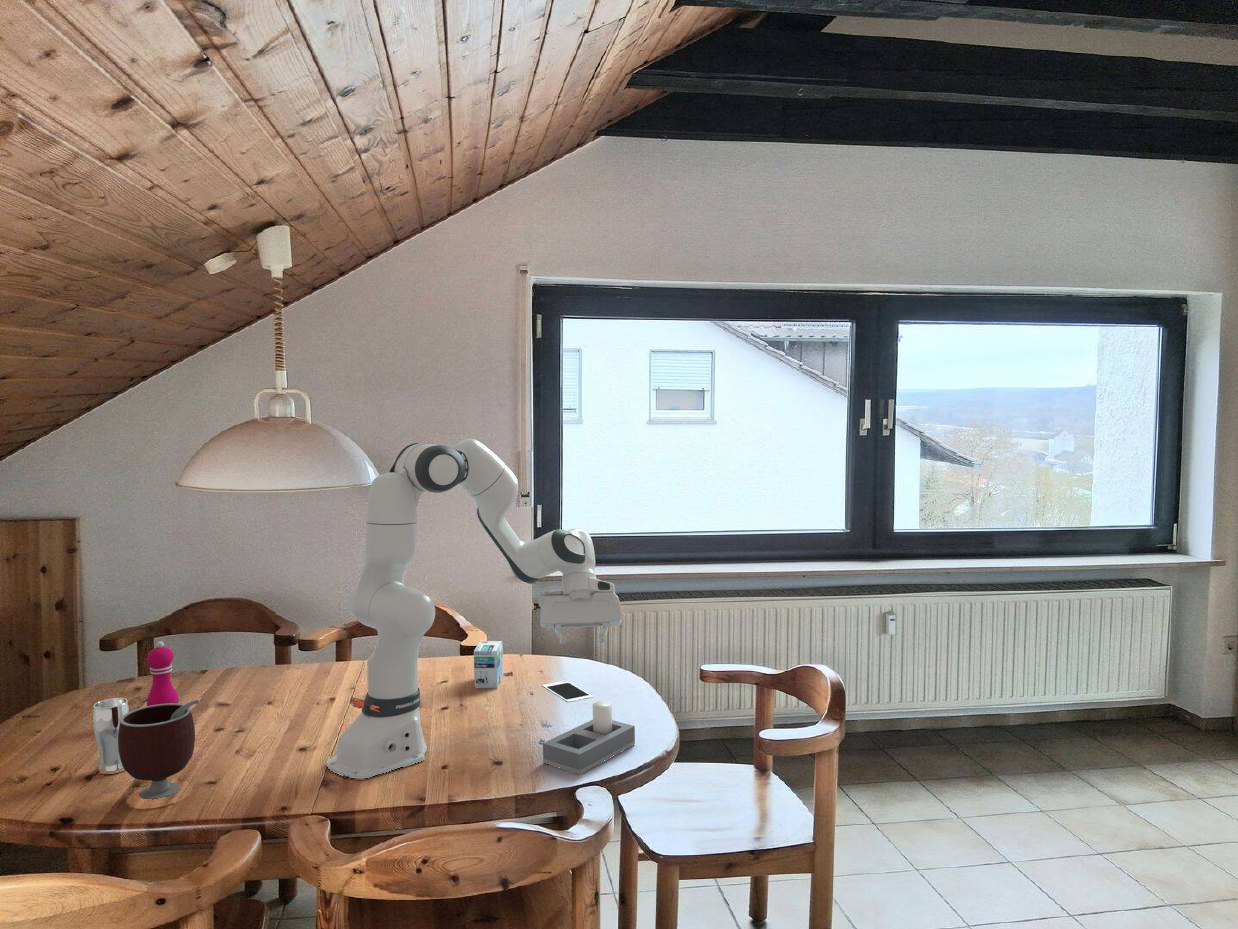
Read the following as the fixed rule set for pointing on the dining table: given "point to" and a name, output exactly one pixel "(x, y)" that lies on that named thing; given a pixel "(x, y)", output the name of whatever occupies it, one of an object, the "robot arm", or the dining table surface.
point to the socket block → (587, 746)
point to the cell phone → (567, 691)
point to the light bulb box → (488, 664)
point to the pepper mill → (161, 676)
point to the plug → (602, 717)
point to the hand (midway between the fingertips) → (582, 642)
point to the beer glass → (109, 731)
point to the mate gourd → (157, 745)
